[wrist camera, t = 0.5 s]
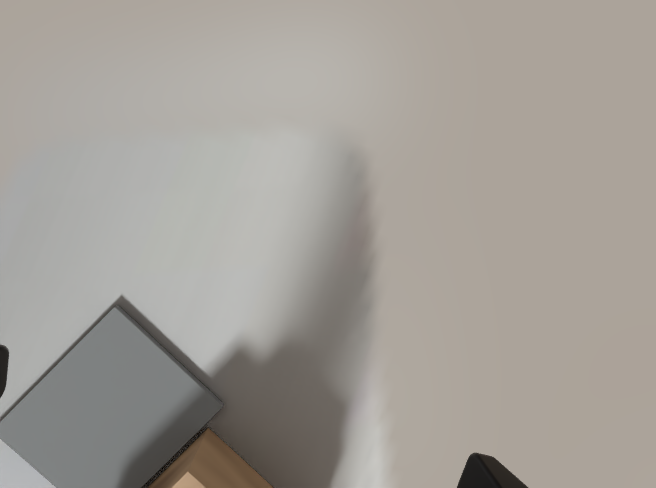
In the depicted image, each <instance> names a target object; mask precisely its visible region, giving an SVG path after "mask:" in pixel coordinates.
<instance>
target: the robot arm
mask: <svg viewBox="0 0 656 488" xmlns="http://www.w3.org/2000/svg"><path fill="white" fill-rule="evenodd" d="M8 359H9V351H8V349H7V347H6V346H4V345H0V398H1V396H2V394H3V392H4V390H5V387H6V381H7V370H8ZM457 488H528V487H527V486H526V485H525V484H523V482H521V481H520V480H519V479H518V478H517V477H516V476H515V475H513V474H512V473H511V472H510V471H509V470H508V469H507V468H505V467H504V466H503V465H502V464H501V463H500V462H499V461H498V460H496V459H495V458H494V457H492V456H488V455H484V454H479V453H473V454H471V455H470V456H469V458H468V460H467V462H466V465H465V468H464V470H463V473H462V475H461V478H460V480H459V483H458V486H457Z"/></svg>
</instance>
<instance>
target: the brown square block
mask: <svg viewBox="0 0 656 488" xmlns="http://www.w3.org/2000/svg"><path fill="white" fill-rule="evenodd" d="M147 488H273V487H272V486H271V485H270V484H269V483H268V482H267V481H266V480H265V479H264V478H262V477H261V476H260V475H259V474H258V473H257V472H256V471H255V470H254V469H253V468H252V467H251V466H249V465H248V464H247V463H246V462H245V461H244V460H243V459H242V458H241V457H240V456H239V455H237V454H236V453H235V452H234V451H233V450H232V449H231V448H230V447H229V446H228V445H227V444H226V443H224V442H223V441H222V440H221V439H220V438H219V437H218V436H217V435H216V434H215V433H214V432H213V431H211V430H210V429H209V428H207V429H206V430H205V431H204V432H203V433H202V434H201V435H200V436H199V437H198V438H197V439H196V440H195V441H194V442H193V443H192V444H191V445H190V446H189V447H188V448H187V449H186V450H185V451H184V452H183V453H182V454H181V455H180V456H179V457H178V458H177V459H176V460H175V461H174V462H173V463H172V464H171V465H170V466H169V467H168V468H167V469H166V470H165V471H164V472H163V473H162V474H161V475H160V476H159V477H157V478H156V479H155V480H154V481H153V482H152V483H151V484H150V485H149V486H148V487H147Z"/></svg>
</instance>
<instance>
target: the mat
mask: <svg viewBox="0 0 656 488" xmlns="http://www.w3.org/2000/svg"><path fill="white" fill-rule="evenodd" d="M223 405H224V403H223V402H221V401H220V400H219V399H218V398H217V397H216V396H215V395H214V394H213V393H212V392H211V391H210V390H209V389H207V388H206V387H205V386H204V385H203V384H202V383H201V382H200V381H199V380H198V379H197V378H196V377H195V376H194V375H192V374H191V373H190V372H189V371H188V370H187V369H186V368H185V367H184V366H183V365H182V364H181V363H180V362H178V361H177V360H176V359H175V358H174V357H173V356H172V355H171V354H170V353H169V352H168V351H167V350H166V349H165V348H163V347H162V346H161V345H160V344H159V343H158V342H157V341H156V340H155V339H154V338H153V337H152V336H151V335H149V334H148V333H147V332H146V331H145V330H144V329H143V328H142V327H141V326H140V325H139V324H138V323H137V322H136V321H134V320H133V319H132V318H131V317H130V316H129V315H128V314H127V313H126V312H125V311H124V310H123V309H122V308H120V307H119V306H118V305H117V306H115V307H114V308H113V309H112V310H111V311H110V312H109V313H108V314H107V315H106V316H105V317H104V318H103V319H102V320H101V321H100V322H99V323H98V324H97V325H96V326H95V327H94V328H93V329H92V330H91V331H90V332H89V333H88V334H87V335H86V336H85V337H84V338H83V339H82V340H81V341H80V342H79V343H78V344H77V345H76V346H75V347H74V348H73V349H72V350H71V351H70V352H69V353H68V354H67V355H66V356H65V357H64V358H63V359H62V360H61V361H60V362H59V363H58V364H57V365H56V366H55V367H54V368H53V369H52V370H51V371H50V372H49V373H48V374H47V375H46V376H45V377H44V378H43V379H42V380H41V381H40V382H39V383H38V384H37V385H36V386H35V387H34V388H33V389H32V390H31V391H30V392H29V393H28V394H27V395H26V397H25V398H24V399H23V400H22V401H21V402H20V403H19V404H18V405H17V406H16V407H15V408H14V409H13V410H12V411H11V412H10V413H9V414H8V415H7V416H6V417H5V418H4V419H3V420H2V421H1V422H0V439H1V440H2V441H3V442H5V443H6V444H7V445H8V446H9V447H10V448H11V449H13V450H14V451H15V452H16V453H17V454H18V455H20V456H21V457H22V458H23V459H24V460H25V461H26V462H28V463H29V464H30V465H31V466H32V467H33V468H34V469H36V470H37V471H38V472H39V473H40V474H41V475H43V476H44V477H45V478H46V479H47V480H48V481H49V482H51V483H52V484H53V485H54V486H55V487H56V488H141V487H142V486H143V485H144V484H145V483H146V482H147V481H148V480H149V479H150V478H151V477H152V476H153V475H155V474H156V473H157V472H158V471H159V470H160V469H161V468H162V467H163V466H164V465H165V464H166V463H167V462H168V461H169V460H170V459H171V458H172V457H173V456H174V455H175V454H176V453H177V452H178V451H179V450H180V449H181V448H182V447H183V446H184V445H185V444H186V443H187V442H188V441H189V440H190V439H191V438H192V437H193V436H194V435H195V434H196V433H197V432H198V431H199V430H200V429H201V428H202V427H203V426H204V425H205V424H206V423H207V422H208V421H209V420H210V419H211V418H212V417H213V416H214V415H215V414H216V413H217V412H218V411H219V410H220V409H221V408H222V407H223Z"/></svg>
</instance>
